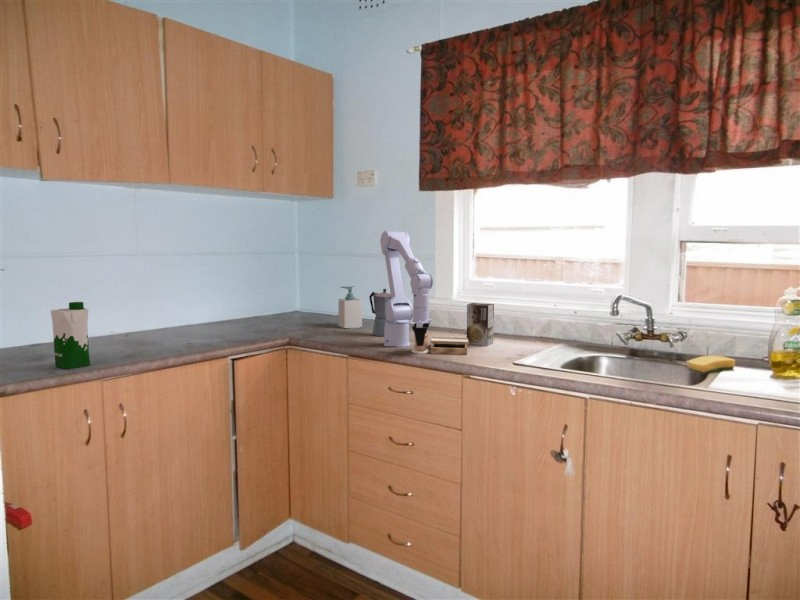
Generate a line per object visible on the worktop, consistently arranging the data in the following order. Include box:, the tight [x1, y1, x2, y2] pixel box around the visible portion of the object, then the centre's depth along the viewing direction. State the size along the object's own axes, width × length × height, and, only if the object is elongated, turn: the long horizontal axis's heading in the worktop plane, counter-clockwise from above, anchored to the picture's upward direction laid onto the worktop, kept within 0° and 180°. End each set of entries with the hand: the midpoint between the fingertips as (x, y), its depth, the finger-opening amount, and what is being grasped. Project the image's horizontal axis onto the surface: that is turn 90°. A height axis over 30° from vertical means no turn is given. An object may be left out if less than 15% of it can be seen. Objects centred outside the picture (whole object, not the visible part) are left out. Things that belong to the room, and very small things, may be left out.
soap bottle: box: [337, 285, 363, 329], centre depth 253 cm, size 9×9×19 cm
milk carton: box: [50, 301, 91, 370], centre depth 171 cm, size 9×9×20 cm
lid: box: [430, 336, 469, 345], centre depth 205 cm, size 14×9×1 cm, turn 83°
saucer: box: [411, 348, 430, 354], centre depth 198 cm, size 6×6×1 cm
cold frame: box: [429, 343, 468, 356], centre depth 201 cm, size 13×16×2 cm
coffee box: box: [466, 302, 495, 347], centre depth 213 cm, size 9×6×16 cm
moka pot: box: [368, 288, 391, 338], centre depth 232 cm, size 10×15×20 cm, turn 53°
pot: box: [413, 332, 429, 350], centre depth 197 cm, size 5×5×6 cm
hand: (420, 344), depth 197 cm, fingers closed on pot, 5 cm apart
